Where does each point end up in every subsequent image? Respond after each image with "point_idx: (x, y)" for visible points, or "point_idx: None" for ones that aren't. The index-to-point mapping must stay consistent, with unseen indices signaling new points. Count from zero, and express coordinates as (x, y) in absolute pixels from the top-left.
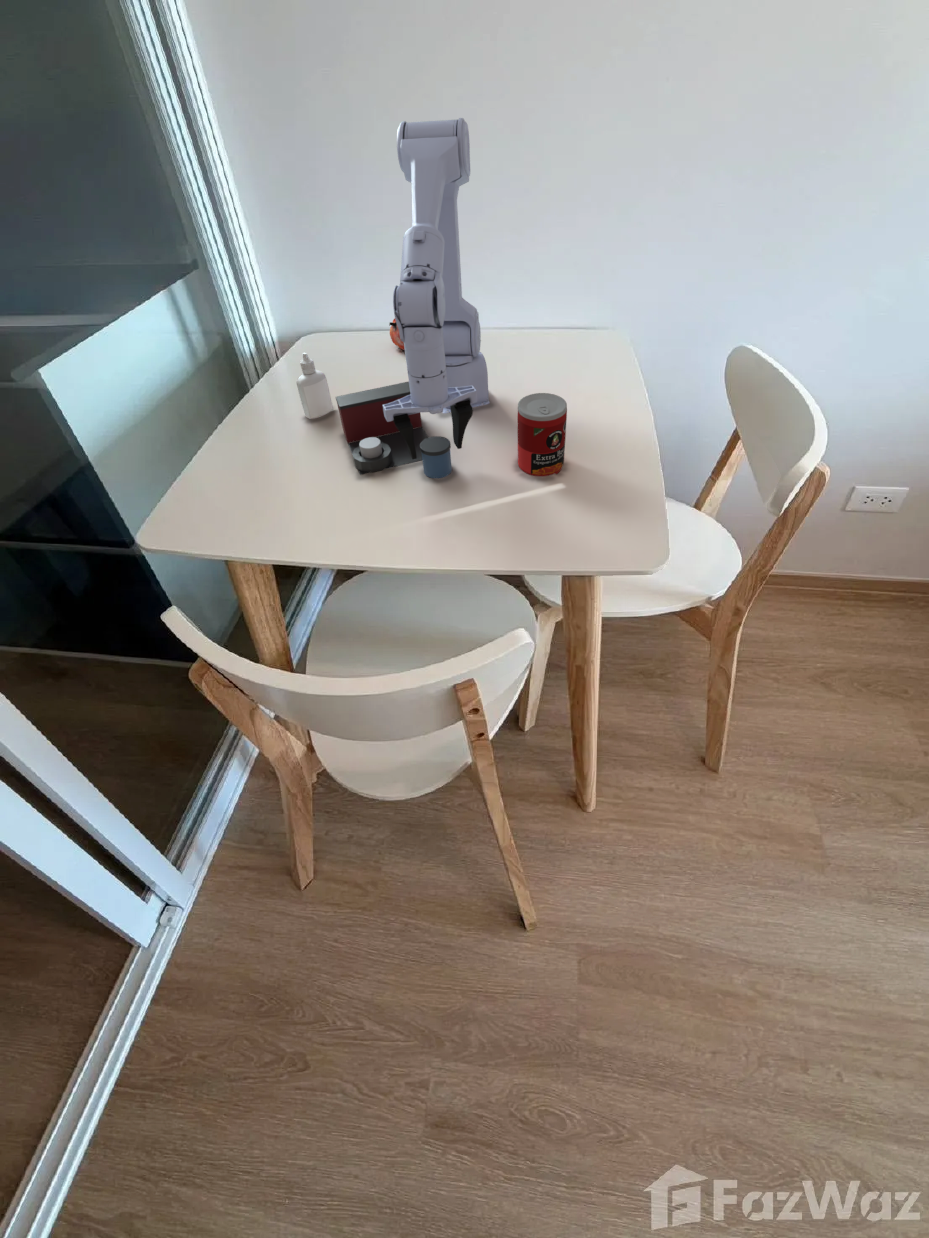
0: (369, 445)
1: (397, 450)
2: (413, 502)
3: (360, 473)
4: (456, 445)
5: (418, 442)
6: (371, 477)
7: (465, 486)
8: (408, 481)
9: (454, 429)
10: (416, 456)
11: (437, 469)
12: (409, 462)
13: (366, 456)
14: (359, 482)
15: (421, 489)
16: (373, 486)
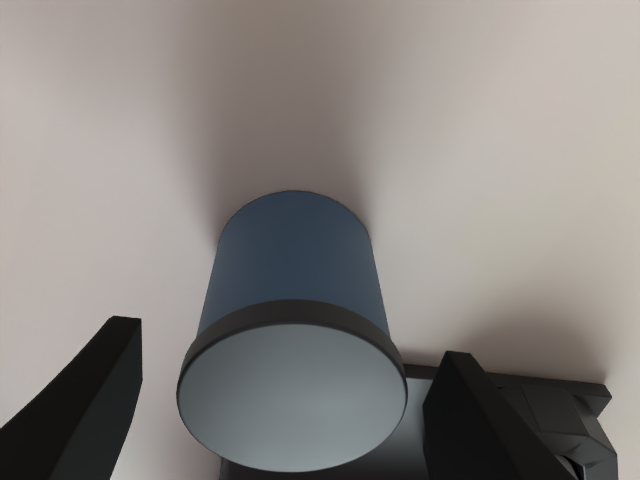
0: None
1: (378, 458)
2: (567, 86)
3: (605, 402)
4: (138, 348)
5: None
6: (569, 368)
7: (204, 60)
8: (460, 271)
9: (98, 473)
10: (452, 361)
11: (331, 239)
12: None
13: (574, 472)
14: (632, 362)
15: (449, 178)
16: (612, 313)
